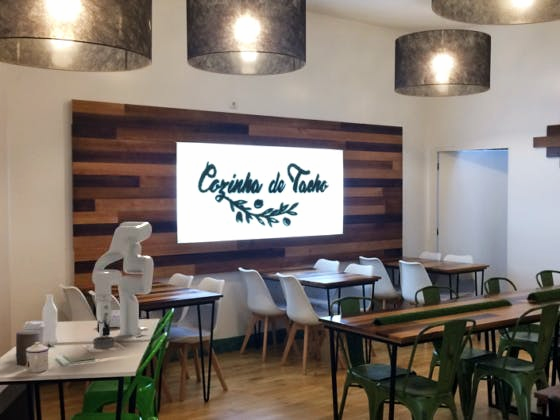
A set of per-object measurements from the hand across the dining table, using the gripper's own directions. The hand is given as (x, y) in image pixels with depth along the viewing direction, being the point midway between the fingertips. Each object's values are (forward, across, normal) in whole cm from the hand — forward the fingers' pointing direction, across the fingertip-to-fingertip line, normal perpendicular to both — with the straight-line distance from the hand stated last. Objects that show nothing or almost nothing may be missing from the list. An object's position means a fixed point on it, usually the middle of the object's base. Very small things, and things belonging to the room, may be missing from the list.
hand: (103, 333), depth 308 cm
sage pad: (+8, -13, +16) cm, 22 cm away
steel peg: (+6, 0, 0) cm, 6 cm away
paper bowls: (+8, +54, -21) cm, 59 cm away
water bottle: (+8, +24, +20) cm, 32 cm away
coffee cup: (+8, +8, +30) cm, 32 cm away
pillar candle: (+8, -6, +35) cm, 36 cm away
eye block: (+8, 0, 0) cm, 8 cm away
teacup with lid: (+8, -22, +34) cm, 41 cm away
